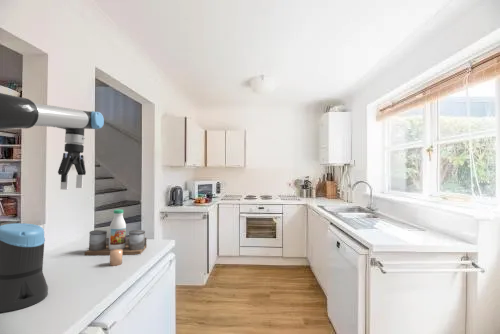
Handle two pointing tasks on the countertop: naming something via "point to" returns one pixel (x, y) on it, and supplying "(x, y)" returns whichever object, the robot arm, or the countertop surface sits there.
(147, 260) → the countertop surface
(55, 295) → the countertop surface
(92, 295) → the countertop surface
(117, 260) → the peach rounded cylinder
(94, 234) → the rack
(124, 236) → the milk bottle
